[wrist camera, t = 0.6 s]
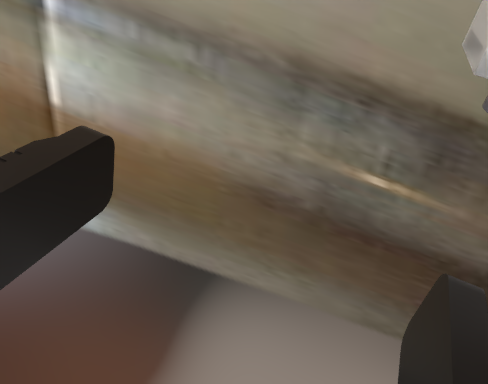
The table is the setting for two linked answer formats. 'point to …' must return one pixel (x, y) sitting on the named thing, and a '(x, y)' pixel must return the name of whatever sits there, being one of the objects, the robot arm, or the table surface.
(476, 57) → the camera housing
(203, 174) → the table surface
